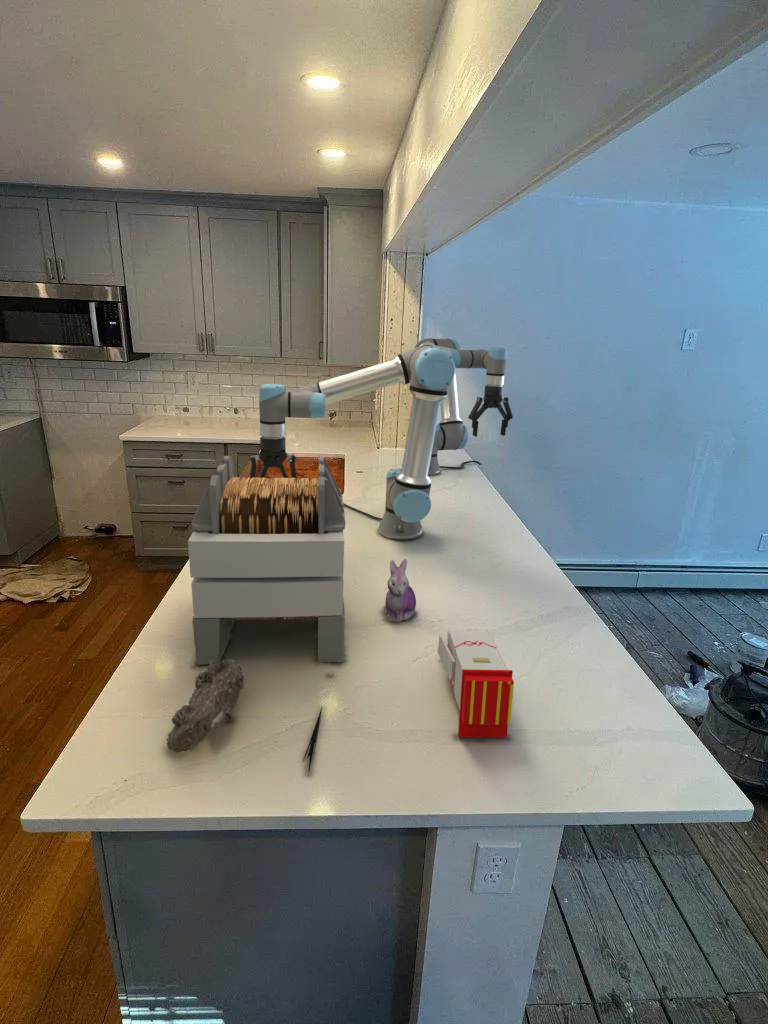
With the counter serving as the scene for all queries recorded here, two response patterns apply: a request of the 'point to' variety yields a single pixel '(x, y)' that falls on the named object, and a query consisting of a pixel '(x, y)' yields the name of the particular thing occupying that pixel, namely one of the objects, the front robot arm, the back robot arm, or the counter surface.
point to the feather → (313, 740)
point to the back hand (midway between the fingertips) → (488, 435)
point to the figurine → (399, 594)
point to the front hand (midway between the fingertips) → (273, 508)
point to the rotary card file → (267, 557)
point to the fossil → (206, 705)
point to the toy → (478, 682)
